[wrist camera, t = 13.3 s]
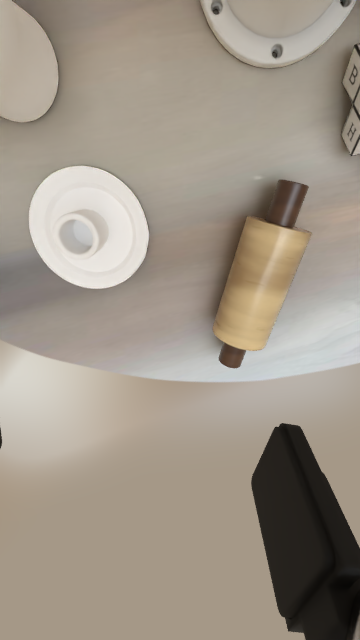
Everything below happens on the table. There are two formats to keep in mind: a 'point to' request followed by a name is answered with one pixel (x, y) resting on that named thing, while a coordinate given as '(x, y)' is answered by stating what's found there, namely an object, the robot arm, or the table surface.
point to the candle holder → (88, 227)
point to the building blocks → (356, 83)
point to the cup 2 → (25, 66)
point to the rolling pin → (261, 275)
